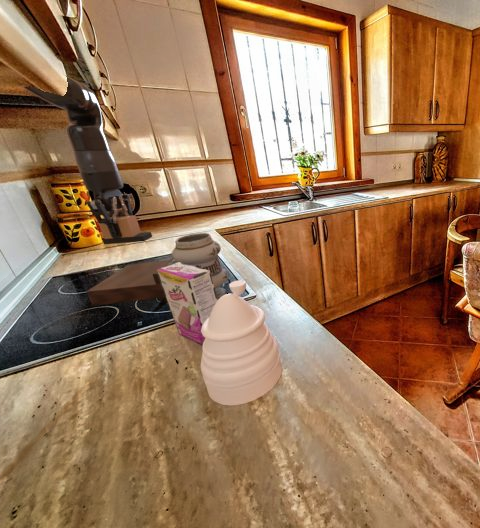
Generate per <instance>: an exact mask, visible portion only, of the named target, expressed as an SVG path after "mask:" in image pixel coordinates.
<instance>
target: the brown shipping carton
mask: <svg viewBox="0 0 480 528" xmlns="http://www.w3.org/2000/svg"><path fill="white" fill-rule="evenodd" d="M110 218H111V216H110ZM116 219H117V223H118V226H119V228H120V231H121V234H122V237H119V238H112V237H111V235H110V232H109V229H108V227H107V225H106V224H103V223H102V224H100V223H98V222H97V224H98V226H99V229H100V232H101V234H102V236H103V238H102V243H103V245H116V244H117V245H118V244H129V243H138V242H139V243H140V242H146V241H148V240H150V239H151V238H153V234H152V232H151V231H144V232H142V231H141V227H140V225H139V222H138V219H137V216H136V215H130V216H120V217H117V216H116Z"/></svg>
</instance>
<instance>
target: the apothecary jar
mask: <svg viewBox="0 0 480 528" xmlns="http://www.w3.org/2000/svg"><path fill="white" fill-rule="evenodd" d="M174 244H175V247H174V248H173V250H172V251H171V259H172V258H173V259H174V260H175V261H177V262H180V263H184V264H187V265H191V266H194V267H198V268H202V269H205V270H209V271H210V274H211V277H212V282H213V285H214V289H215V293H216V297H217V300H218V299H219V298H220V297H222V296H223V295H225V294H227V293H228V294H229V292H228V289H226V288H224V287H222V286H223V285H225V284H226V282H227V280H228V278H229V273H228V271H227V270H226V269H225V268H223V267H222V265H221V262H220V259H219V254H220V252H221V250H222V247H221V245H220V243H218V242H217V241H215V240H213V238H212V235H211V234H210V233H209V232H208V233H207V232H201V233H200V232H199V233H192V234H187V235H184V236H181V237H178V238H176V239H175V242H174Z"/></svg>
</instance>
